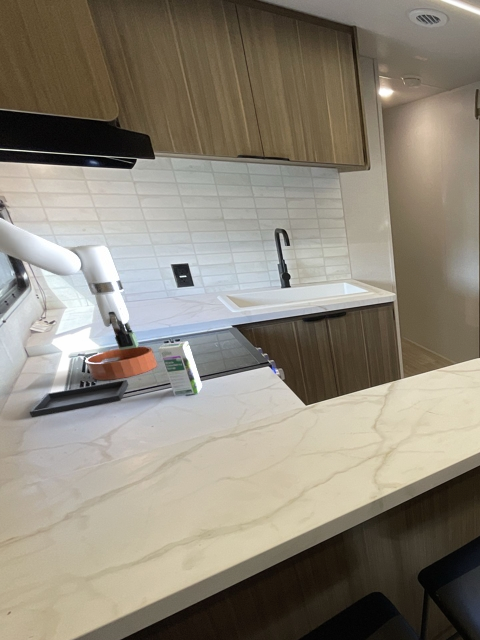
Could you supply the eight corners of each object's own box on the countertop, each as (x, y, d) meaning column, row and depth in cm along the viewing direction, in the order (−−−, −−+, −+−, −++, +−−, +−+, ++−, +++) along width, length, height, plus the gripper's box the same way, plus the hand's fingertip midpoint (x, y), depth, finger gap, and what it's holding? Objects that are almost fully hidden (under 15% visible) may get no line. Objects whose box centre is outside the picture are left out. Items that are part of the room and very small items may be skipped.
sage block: (119, 350, 127) (114, 337, 126) (122, 346, 131) (117, 334, 129) (136, 347, 129) (132, 335, 128) (138, 344, 133) (134, 332, 131)
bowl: (87, 385, 121) (78, 367, 119) (99, 369, 134) (91, 352, 131) (155, 374, 129) (148, 356, 127) (160, 359, 142) (154, 343, 140)
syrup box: (174, 397, 113) (157, 348, 108) (179, 389, 118) (163, 342, 113) (198, 393, 115) (182, 345, 110) (202, 386, 120) (188, 340, 115)
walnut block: (105, 375, 127) (100, 363, 126) (107, 371, 131) (102, 359, 129) (122, 372, 129) (117, 360, 128) (124, 368, 133) (120, 356, 131)
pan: (32, 419, 102) (29, 412, 101) (49, 400, 112) (46, 393, 112) (121, 402, 111) (118, 395, 110) (129, 385, 121) (126, 379, 120)
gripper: (95, 284, 127) (117, 340, 134) (82, 293, 114) (107, 353, 121) (126, 282, 131) (146, 336, 138) (116, 290, 118) (139, 349, 125)
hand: (128, 343), depth 130 cm, fingers closed on sage block, 4 cm apart
